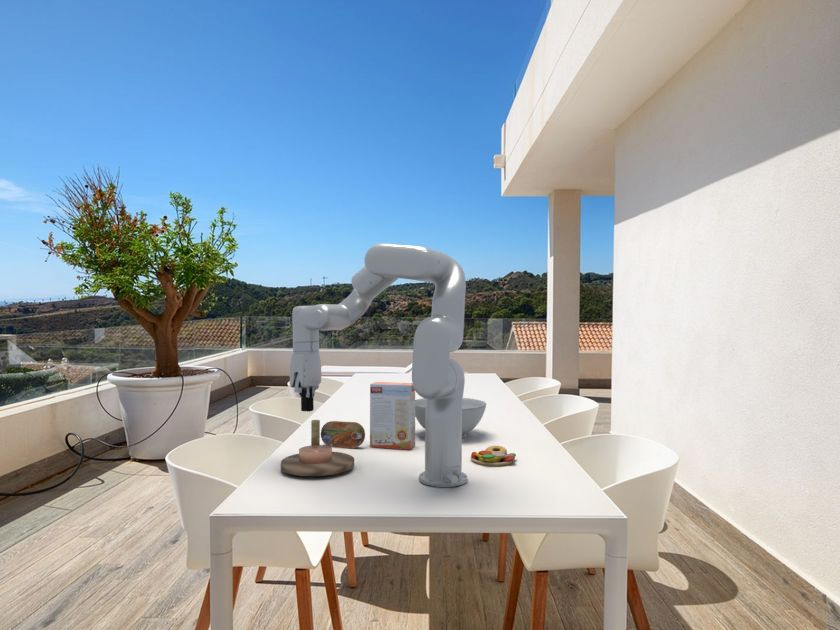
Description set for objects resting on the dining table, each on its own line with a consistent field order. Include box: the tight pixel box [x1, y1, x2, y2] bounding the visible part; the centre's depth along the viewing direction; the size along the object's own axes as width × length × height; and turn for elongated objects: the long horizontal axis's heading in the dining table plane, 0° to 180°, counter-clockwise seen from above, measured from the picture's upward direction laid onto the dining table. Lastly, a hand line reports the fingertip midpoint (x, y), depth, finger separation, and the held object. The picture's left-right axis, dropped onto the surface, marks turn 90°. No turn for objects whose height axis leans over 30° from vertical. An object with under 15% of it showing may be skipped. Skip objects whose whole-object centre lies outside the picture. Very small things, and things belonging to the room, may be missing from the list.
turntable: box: [280, 419, 355, 477], centre depth 148 cm, size 20×20×11 cm
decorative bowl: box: [415, 397, 487, 440], centre depth 191 cm, size 27×27×12 cm
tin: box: [320, 420, 366, 450], centre depth 175 cm, size 15×3×8 cm, turn 72°
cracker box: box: [369, 381, 416, 451], centre depth 175 cm, size 14×6×21 cm, turn 75°
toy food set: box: [470, 445, 517, 467], centre depth 158 cm, size 13×13×3 cm
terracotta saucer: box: [298, 444, 333, 464], centre depth 149 cm, size 9×9×3 cm
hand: (307, 410), depth 156 cm, fingers closed
